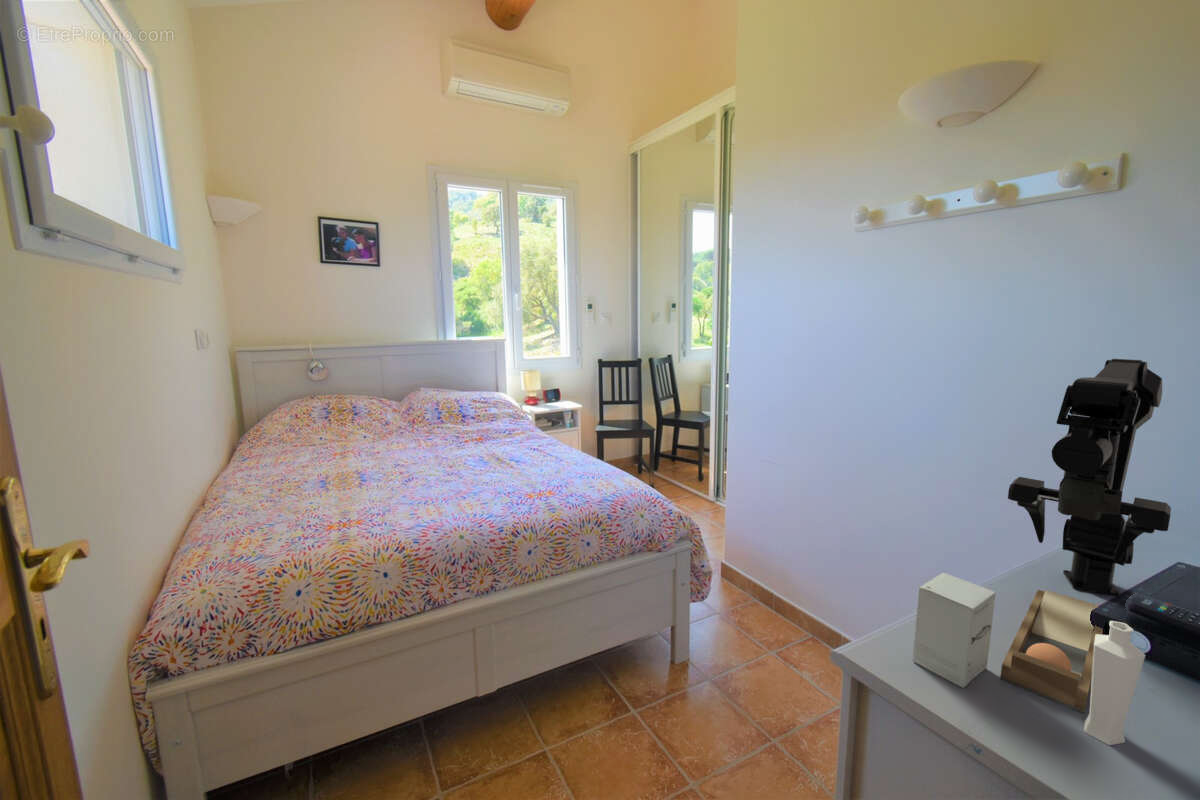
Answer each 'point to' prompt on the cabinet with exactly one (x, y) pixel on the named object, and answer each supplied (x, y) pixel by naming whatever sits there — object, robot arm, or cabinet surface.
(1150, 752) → the cabinet surface
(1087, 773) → the cabinet surface
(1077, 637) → the wooden tray
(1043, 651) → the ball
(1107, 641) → the perfume bottle
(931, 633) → the supplement box
